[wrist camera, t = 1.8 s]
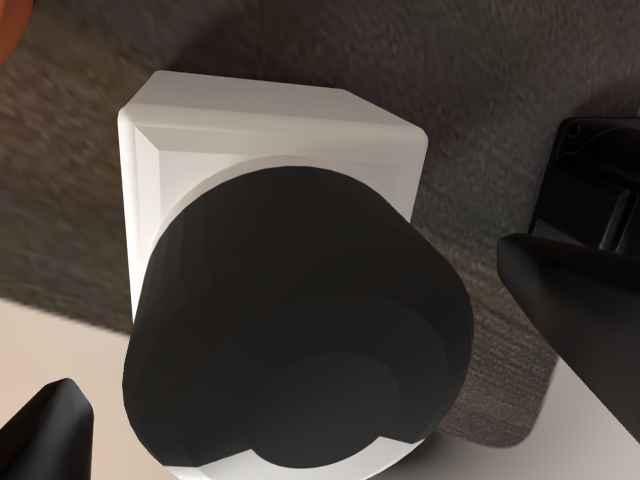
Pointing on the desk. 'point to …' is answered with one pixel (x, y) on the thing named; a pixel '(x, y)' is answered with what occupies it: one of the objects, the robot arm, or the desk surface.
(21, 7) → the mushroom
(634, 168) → the robot arm
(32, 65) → the desk surface
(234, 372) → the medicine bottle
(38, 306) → the desk surface
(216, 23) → the desk surface
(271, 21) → the desk surface
